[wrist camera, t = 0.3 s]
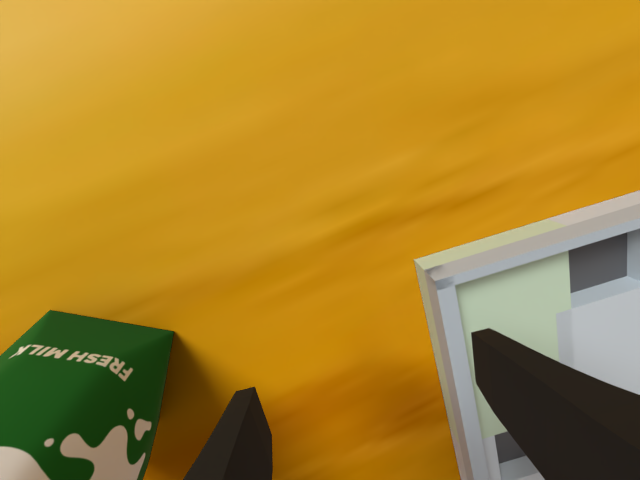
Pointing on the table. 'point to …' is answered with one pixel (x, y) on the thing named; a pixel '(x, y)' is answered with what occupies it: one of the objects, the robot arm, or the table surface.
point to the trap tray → (534, 316)
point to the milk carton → (81, 399)
